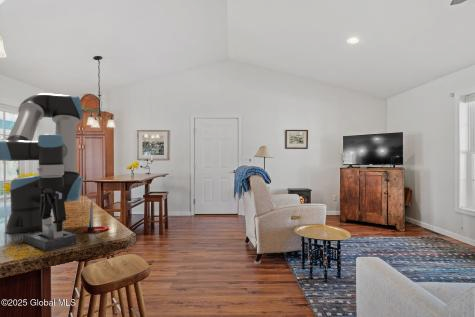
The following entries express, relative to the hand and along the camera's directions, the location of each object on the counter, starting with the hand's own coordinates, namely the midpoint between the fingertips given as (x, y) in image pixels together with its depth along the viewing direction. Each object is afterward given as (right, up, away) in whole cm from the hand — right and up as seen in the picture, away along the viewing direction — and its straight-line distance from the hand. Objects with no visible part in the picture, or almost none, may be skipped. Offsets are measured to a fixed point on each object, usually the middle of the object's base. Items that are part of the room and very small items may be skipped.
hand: (52, 238), depth 98 cm
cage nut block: (0, -2, 0) cm, 2 cm away
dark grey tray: (-2, -2, +1) cm, 3 cm away
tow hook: (+8, -2, +17) cm, 18 cm away
